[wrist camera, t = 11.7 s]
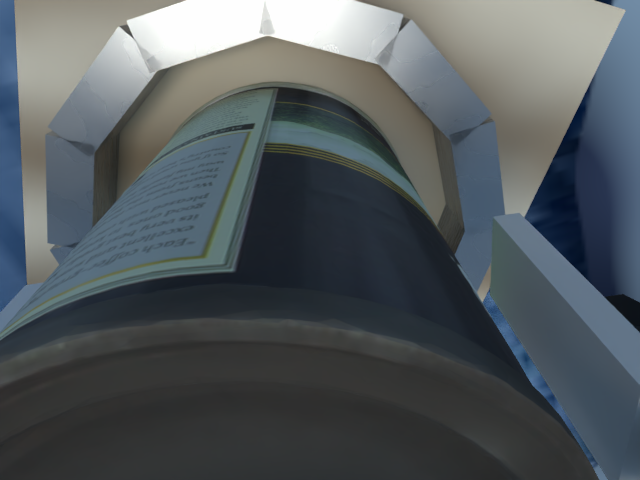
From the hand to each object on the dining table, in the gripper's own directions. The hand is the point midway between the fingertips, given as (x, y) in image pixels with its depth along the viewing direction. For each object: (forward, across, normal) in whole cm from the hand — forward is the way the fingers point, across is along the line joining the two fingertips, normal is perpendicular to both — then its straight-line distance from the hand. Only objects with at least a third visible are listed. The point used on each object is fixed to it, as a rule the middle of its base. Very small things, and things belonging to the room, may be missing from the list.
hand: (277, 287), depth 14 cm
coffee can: (+6, 0, 0) cm, 6 cm away
